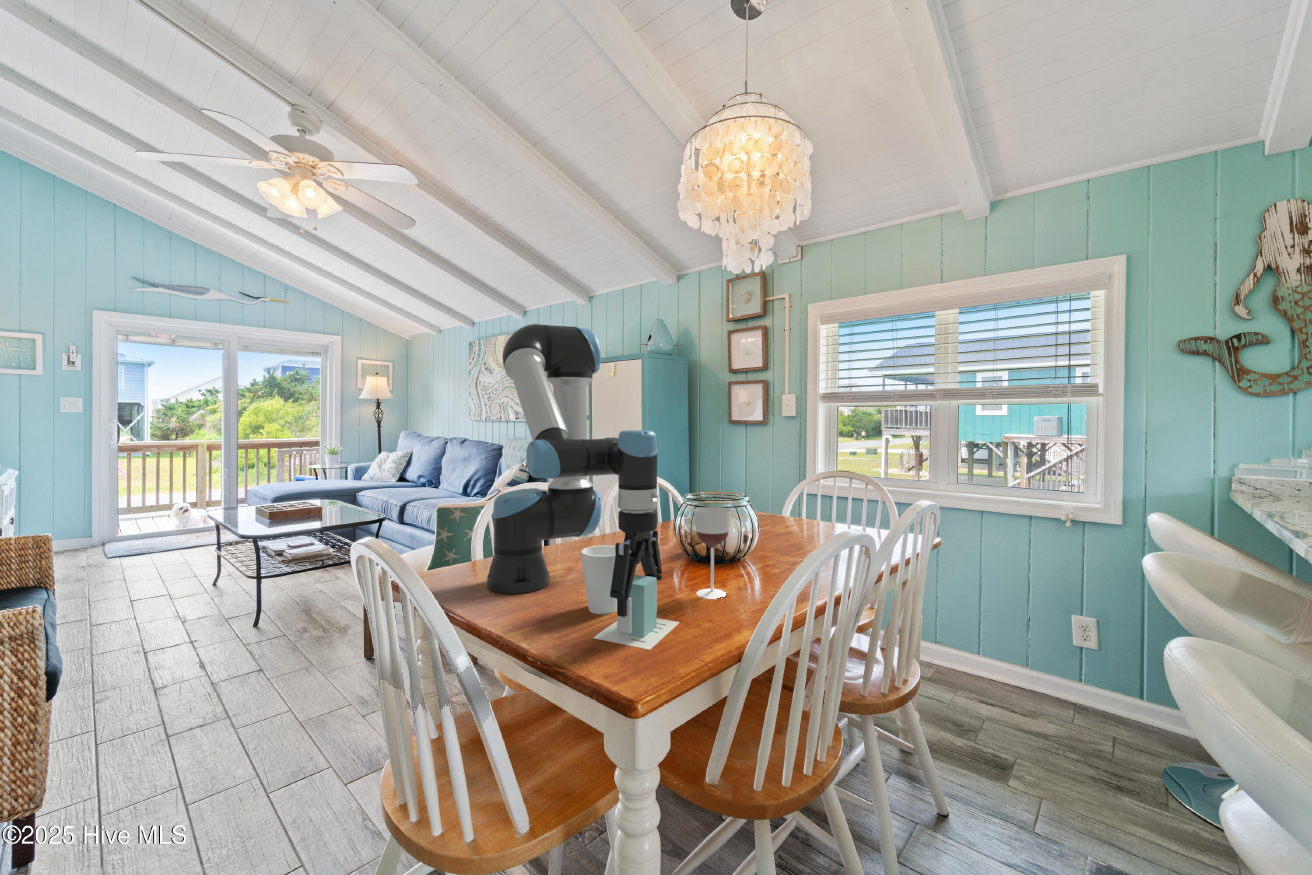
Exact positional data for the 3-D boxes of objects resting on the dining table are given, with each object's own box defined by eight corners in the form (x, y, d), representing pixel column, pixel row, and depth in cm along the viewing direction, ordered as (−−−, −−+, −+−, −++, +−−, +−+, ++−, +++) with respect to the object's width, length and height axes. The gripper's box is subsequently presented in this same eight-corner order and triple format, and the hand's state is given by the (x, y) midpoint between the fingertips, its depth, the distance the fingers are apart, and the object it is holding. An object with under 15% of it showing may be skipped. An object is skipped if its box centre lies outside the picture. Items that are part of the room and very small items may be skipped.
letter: (592, 638, 103) (592, 637, 103) (627, 613, 115) (627, 612, 115) (649, 650, 98) (649, 649, 98) (679, 623, 110) (679, 622, 110)
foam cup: (617, 619, 112) (617, 557, 112) (575, 616, 114) (575, 555, 114) (629, 603, 122) (629, 546, 121) (589, 600, 124) (589, 544, 123)
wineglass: (736, 597, 126) (736, 511, 125) (701, 601, 123) (701, 513, 123) (722, 586, 134) (722, 506, 133) (689, 590, 131) (689, 507, 130)
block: (618, 632, 105) (618, 581, 105) (631, 622, 110) (631, 573, 110) (644, 637, 103) (644, 585, 102) (656, 627, 108) (656, 577, 107)
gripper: (626, 522, 94) (627, 647, 95) (678, 502, 114) (678, 605, 115) (589, 518, 97) (590, 640, 98) (646, 499, 117) (646, 600, 118)
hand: (637, 621), depth 106 cm, fingers open, 10 cm apart
